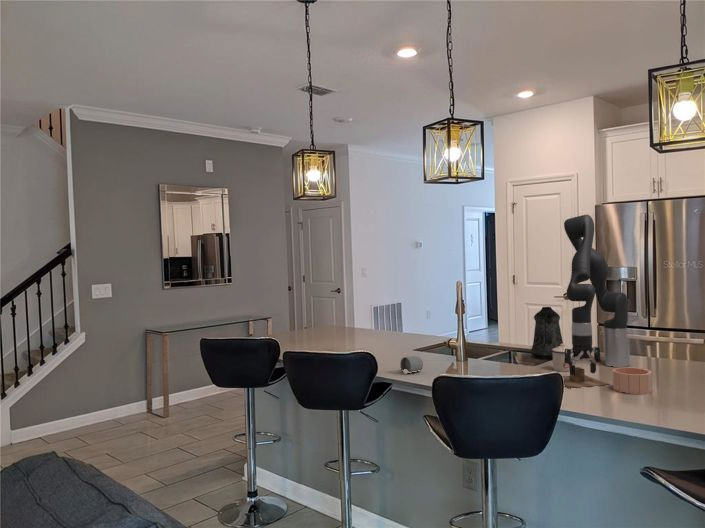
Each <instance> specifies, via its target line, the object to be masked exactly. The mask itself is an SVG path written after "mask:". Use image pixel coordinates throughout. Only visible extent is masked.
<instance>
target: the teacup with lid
mask: <svg viewBox="0 0 705 528" xmlns="http://www.w3.org/2000/svg"><path fill="white" fill-rule="evenodd" d="M566 348H567V349H572V347H568V346H566V344H565V343H563V344H560V346H558V347H556V348H553V349H552V352H553V360H552V370H554V371H555V372H560V371H570V367H569V364H567V363H565V362H564V360H565V349H566ZM572 355H573V352H572V354H571V357H572Z"/></svg>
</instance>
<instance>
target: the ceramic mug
mask: <svg viewBox="0 0 705 528" xmlns="http://www.w3.org/2000/svg"><path fill="white" fill-rule="evenodd" d="M399 365H400V368H401V369H400V371H401V370H404V369H407V370H408V371H409V372H412V371H418V370H421V371H422V370H423V366H424V362H423V359H422V358H421V357H419V356H418V355H417V356H416V355H415V356H404V357H402V358H401V360H400V363H399Z"/></svg>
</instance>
